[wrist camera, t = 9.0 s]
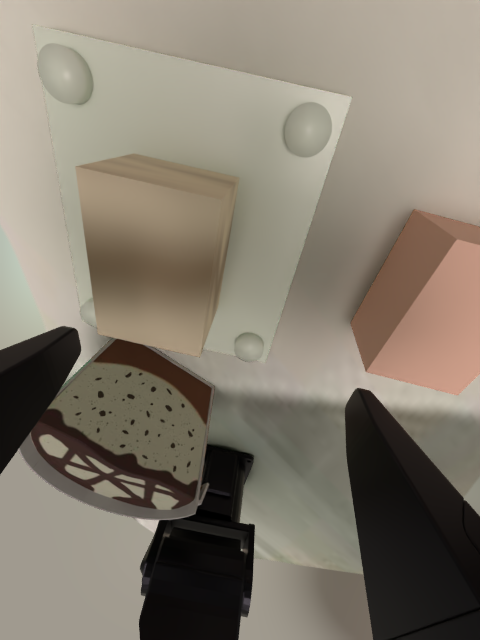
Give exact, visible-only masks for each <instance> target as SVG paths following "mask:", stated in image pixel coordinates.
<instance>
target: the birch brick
mask: <svg viewBox="0 0 480 640" xmlns="http://www.w3.org/2000/svg"><path fill="white" fill-rule="evenodd" d="M75 169H76V176H77V184H78V191H79V198H80V206H81V213H82V221H83V228H84V235H85V243H86V250H87V258H88V265H89V272H90V280H91V287H92V295H93V302H94V309H95V317H96V324H97V332H98V334H99V335H103V336H108V337H112V338H117V339H121V340H125V341H130V342H134V343H139V344H143V345H147V346H152V347H156V348H161V349H165V350H169V351H174V352H178V353H182V354H187V355H191V356H196V357H200V356H201V353H202V350H203V347H204V345H205V342H206V339H207V336H208V333H209V331H210V328H211V325H212V322H213V320H214V317H215V314H216V311H217V309H218V304H219V298H220V292H221V286H222V280H223V274H224V268H225V262H226V256H227V250H228V244H229V238H230V232H231V226H232V220H233V214H234V208H235V202H236V196H237V190H238V184H239V177H235V176H230V175H226V174H222V173H217V172H213V171H209V170H204V169H200V168H195V167H191V166H187V165H182V164H178V163H173V162H169V161H165V160H160V159H156V158H151V157H147V156H143V155H138V154H129V155H125V156H120V157H116V158H111V159H106V160H102V161H97V162H93V163H88V164H84V165H79V166H75Z"/></svg>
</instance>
